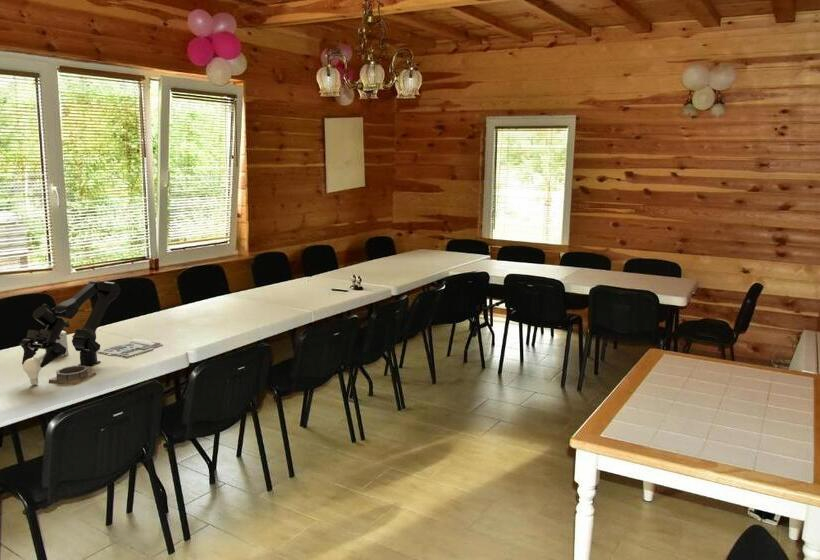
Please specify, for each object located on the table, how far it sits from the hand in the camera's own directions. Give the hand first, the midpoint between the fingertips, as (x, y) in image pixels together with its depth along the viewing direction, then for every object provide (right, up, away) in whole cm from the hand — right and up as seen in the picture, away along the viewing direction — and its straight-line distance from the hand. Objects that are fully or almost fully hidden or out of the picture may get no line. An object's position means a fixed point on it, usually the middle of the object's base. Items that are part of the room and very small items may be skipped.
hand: (31, 366), depth 251 cm
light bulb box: (-13, 0, +42) cm, 44 cm away
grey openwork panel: (+18, +1, +49) cm, 52 cm away
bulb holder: (+11, -6, +9) cm, 16 cm away
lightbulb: (0, -8, +2) cm, 8 cm away
